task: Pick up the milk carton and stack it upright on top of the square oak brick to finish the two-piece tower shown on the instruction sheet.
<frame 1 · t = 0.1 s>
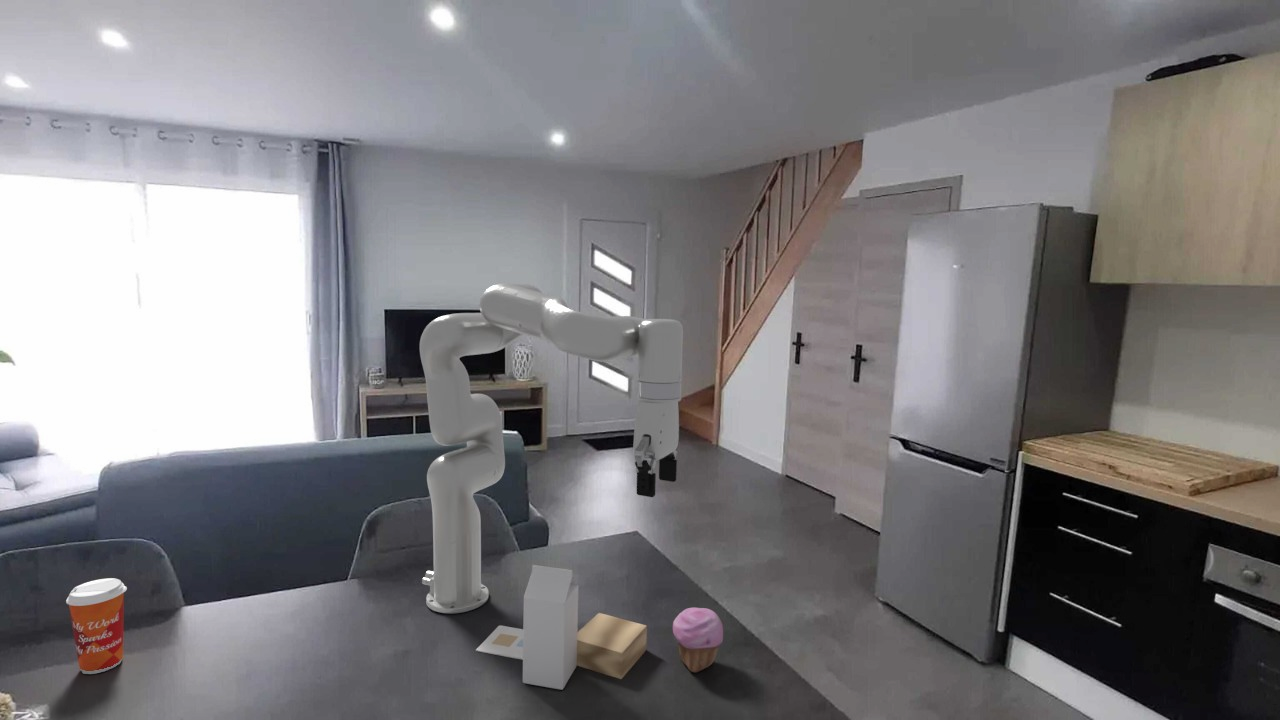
hand: (657, 487, 113), 31 cm above the table, tool pointing down, fingers open, 9 cm apart
paper cup: (102, 666, 110), on the table
milk carton: (550, 676, 109), on the table
oak brick: (609, 658, 116), on the table
cupcake: (697, 665, 114), on the table
instruction sheet: (517, 643, 119), on the table
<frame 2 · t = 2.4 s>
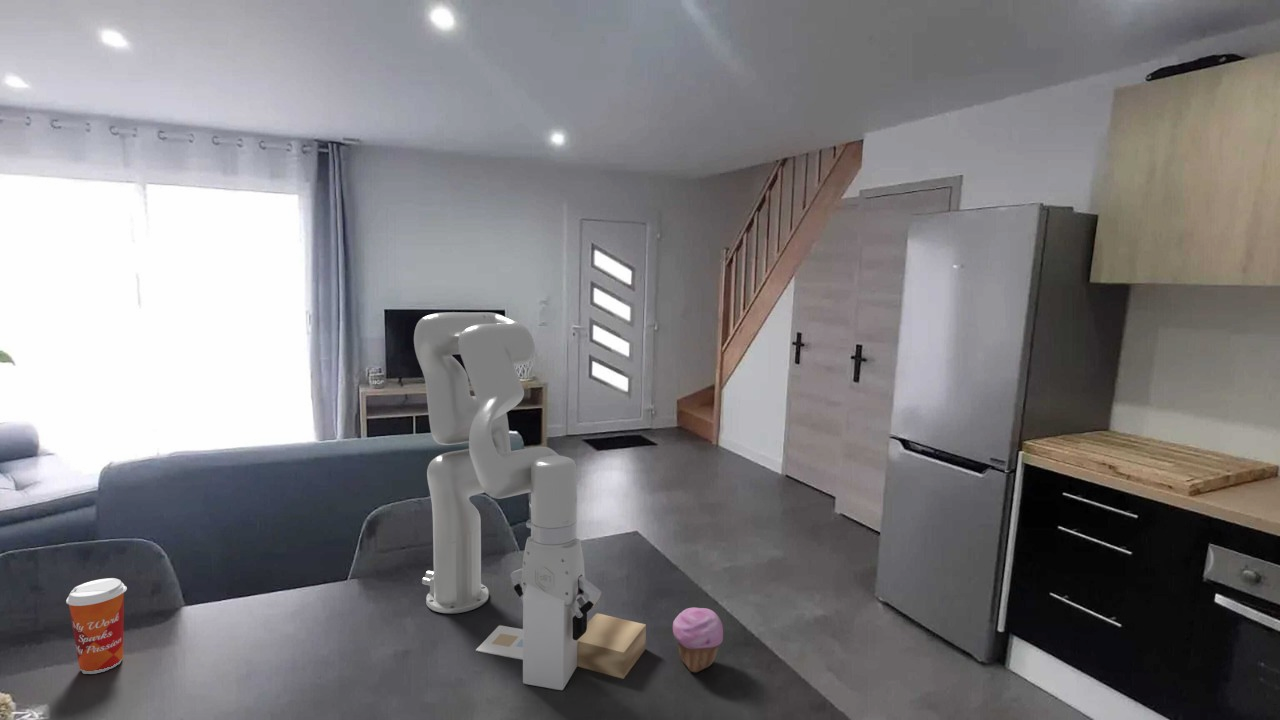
hand: (554, 629, 109), 8 cm above the table, tool pointing down, fingers open, 9 cm apart
nothing on the table moved.
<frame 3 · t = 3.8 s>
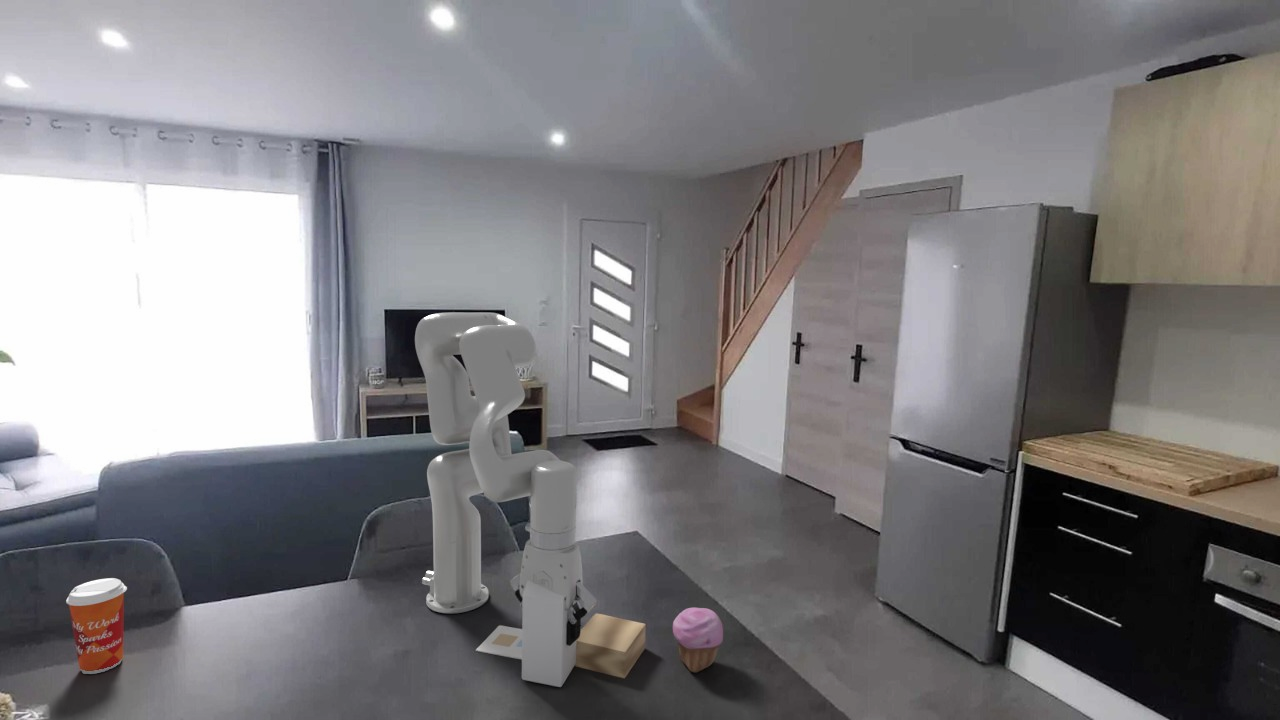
hand: (551, 634, 110), 7 cm above the table, tool pointing down, fingers closed on milk carton, 7 cm apart
milk carton: (549, 673, 110), on the table, touching gripper
everything else where it was.
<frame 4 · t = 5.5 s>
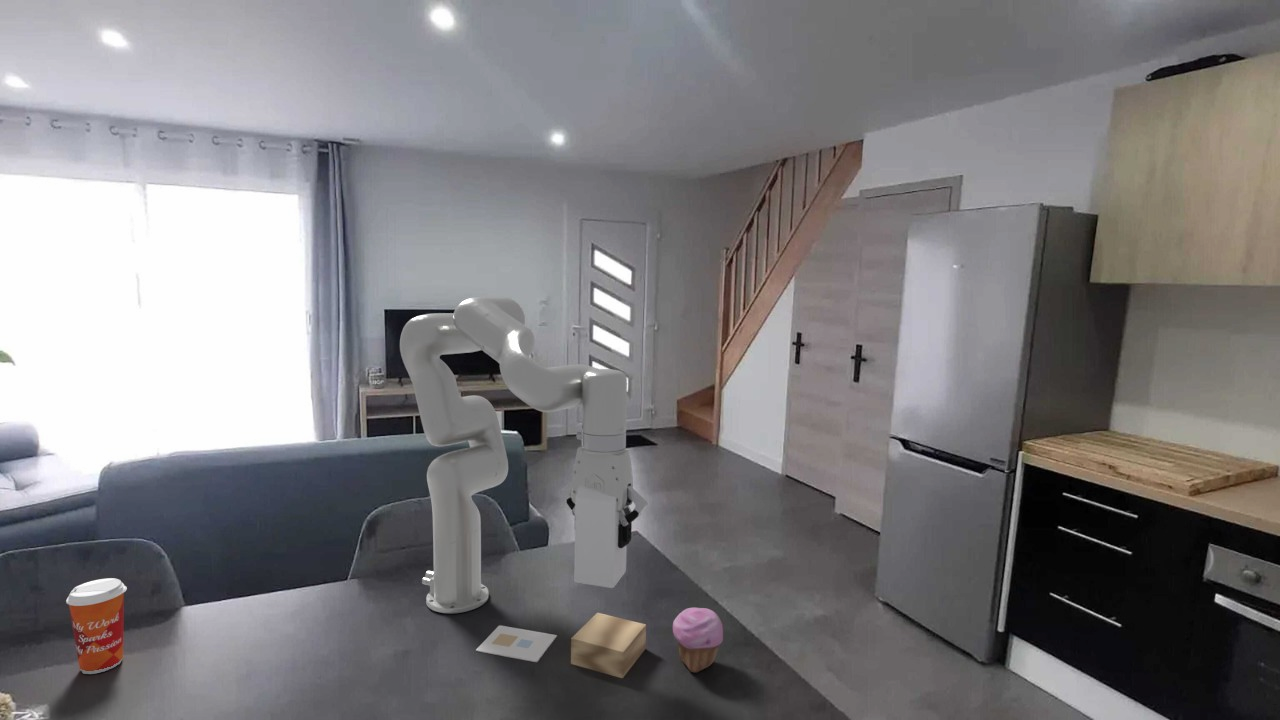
hand: (602, 540, 112), 22 cm above the table, tool pointing down, fingers closed on milk carton, 7 cm apart
milk carton: (600, 578, 112), point 15 cm above the table, touching gripper
everything else where it was.
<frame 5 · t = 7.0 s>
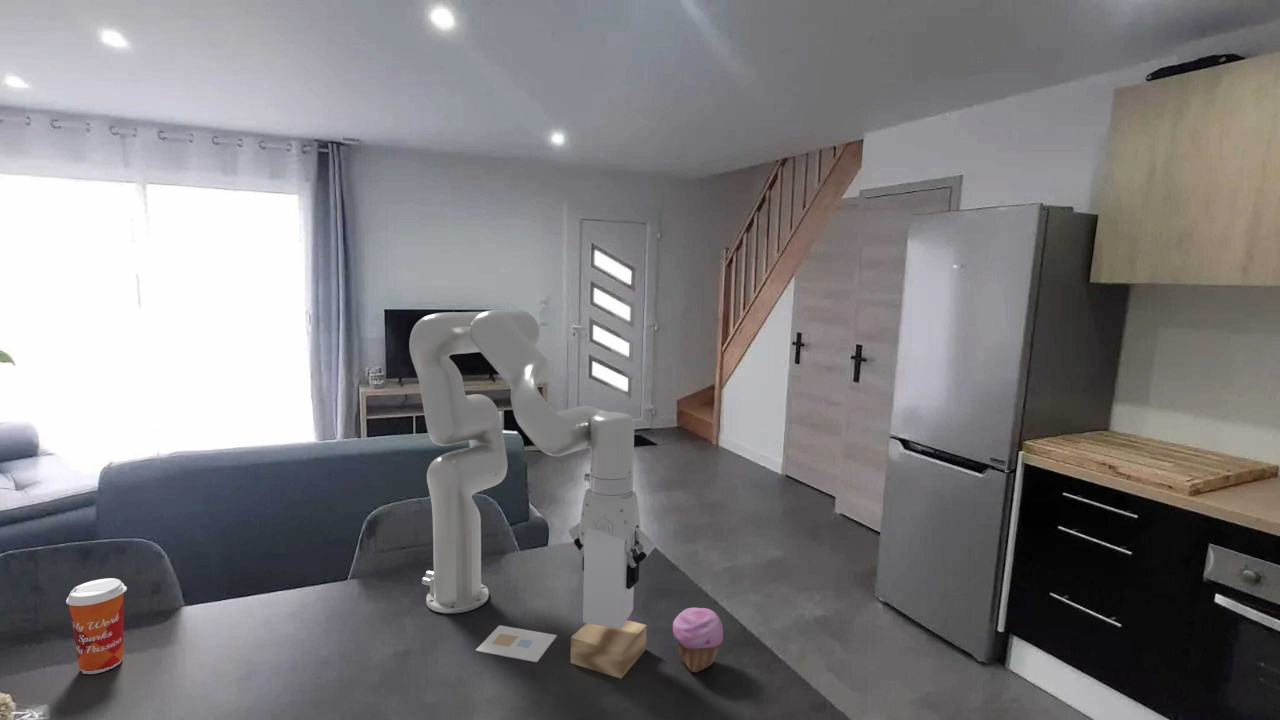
hand: (610, 580, 114), 14 cm above the table, tool pointing down, fingers closed on milk carton, 7 cm apart
milk carton: (608, 618, 114), point 8 cm above the table, touching gripper
everything else where it was.
when the fingers open (13 cm above the table, at t = 7.9 s): milk carton drops 1 cm, point 5 cm above the table.
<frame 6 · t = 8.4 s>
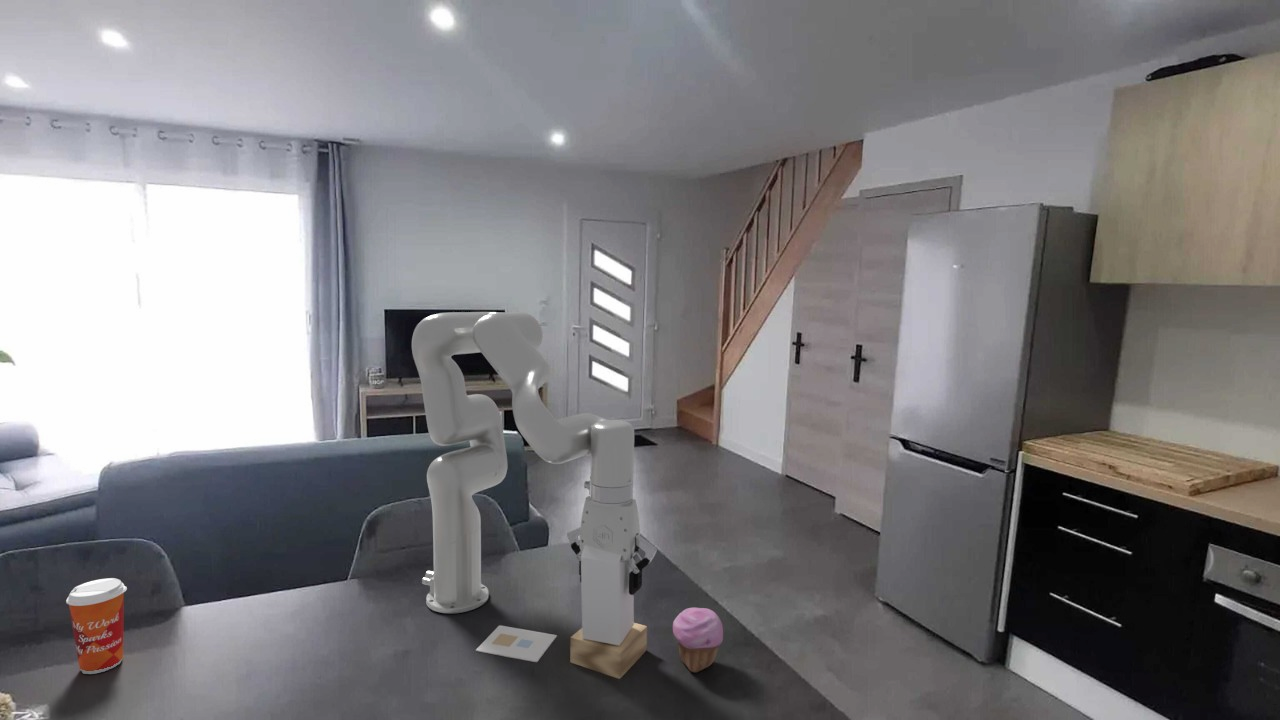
hand: (609, 585, 114), 13 cm above the table, tool pointing down, fingers open, 9 cm apart
milk carton: (608, 633, 115), point 5 cm above the table
everything else where it was.
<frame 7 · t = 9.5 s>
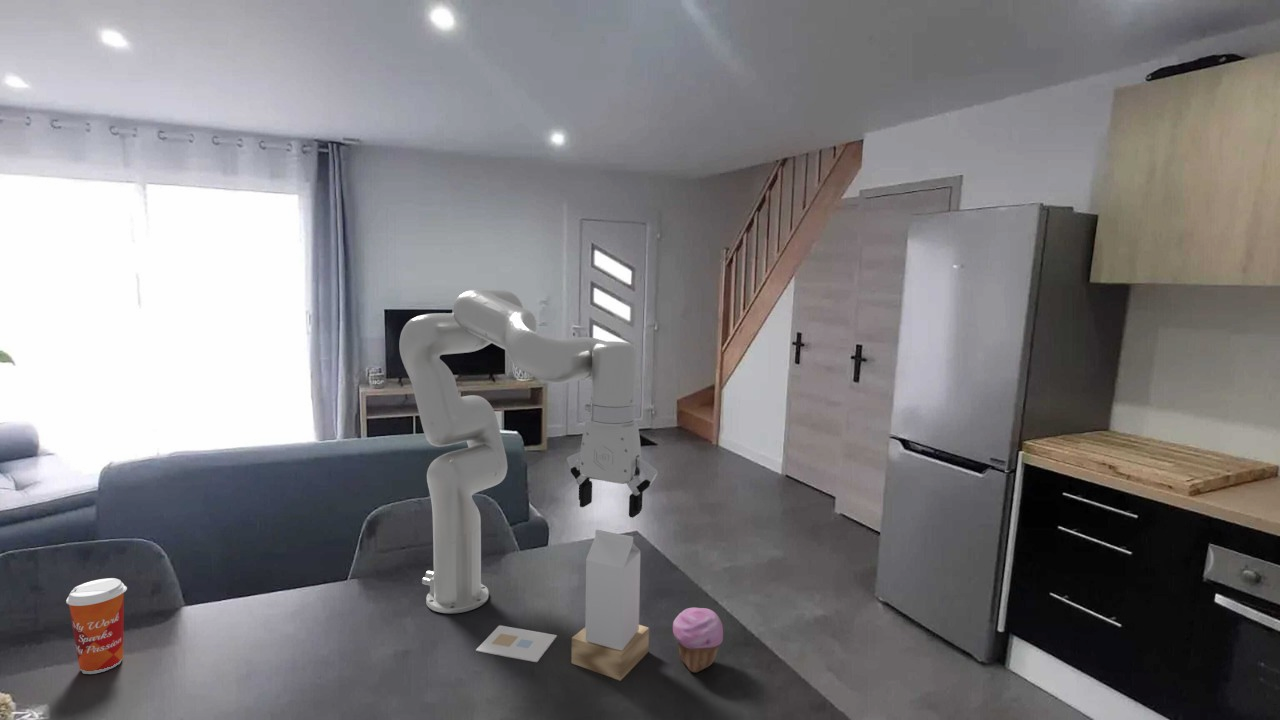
hand: (609, 509, 113), 27 cm above the table, tool pointing down, fingers open, 9 cm apart
milk carton: (612, 637, 113), point 5 cm above the table, touching oak brick
oak brick: (610, 659, 115), on the table, touching milk carton
everything else where it was.
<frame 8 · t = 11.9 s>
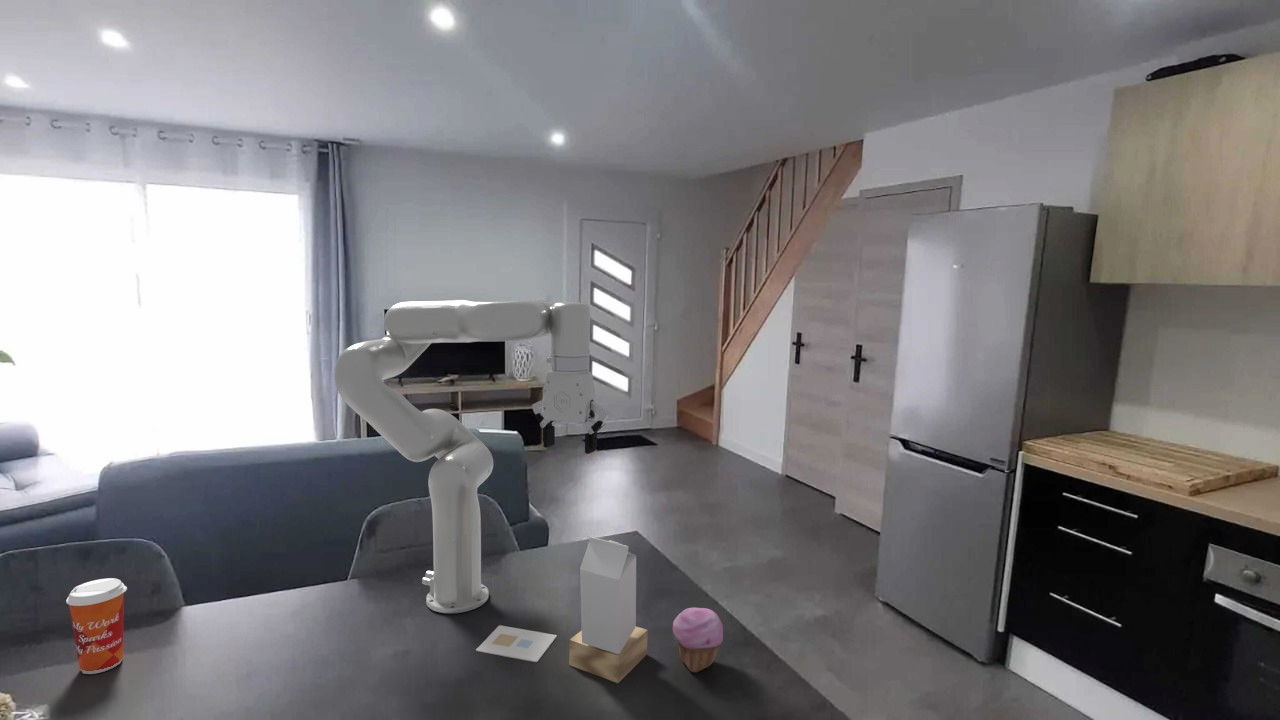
hand: (569, 449, 129), 33 cm above the table, tool pointing down, fingers open, 9 cm apart
milk carton: (609, 636, 112), point 5 cm above the table
oak brick: (608, 661, 115), on the table
everything else where it was.
at the end: milk carton 1.8 cm from the oak brick (horizontally); milk carton tilted 10°; milk carton touching oak brick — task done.
